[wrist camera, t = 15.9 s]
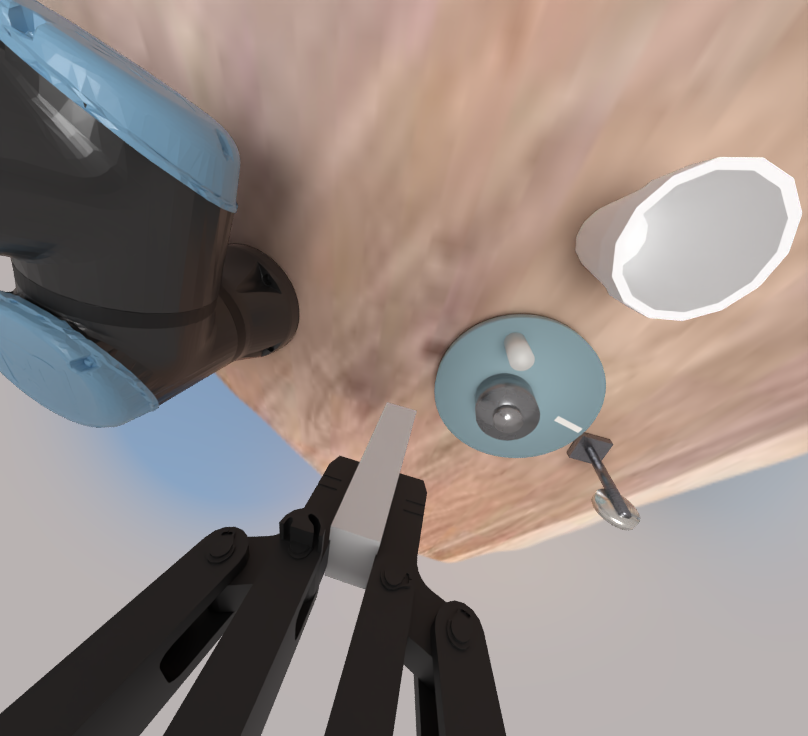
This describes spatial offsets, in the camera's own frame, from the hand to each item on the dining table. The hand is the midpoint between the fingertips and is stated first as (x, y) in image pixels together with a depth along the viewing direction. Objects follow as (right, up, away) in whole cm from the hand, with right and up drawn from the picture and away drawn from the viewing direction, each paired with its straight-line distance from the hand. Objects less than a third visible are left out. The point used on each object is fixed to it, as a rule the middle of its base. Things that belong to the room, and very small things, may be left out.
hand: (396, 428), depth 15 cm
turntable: (+15, +1, +24) cm, 28 cm away
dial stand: (+26, -8, +26) cm, 38 cm away
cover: (+13, -1, +22) cm, 26 cm away
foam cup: (+21, +16, +15) cm, 31 cm away
